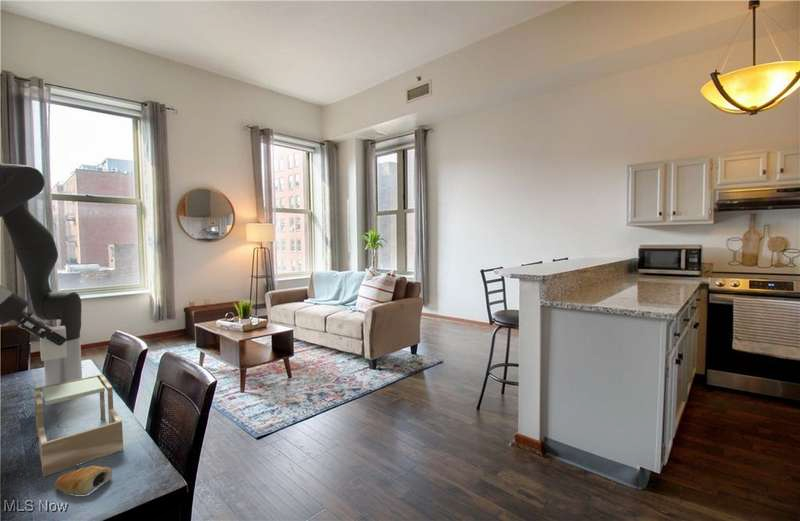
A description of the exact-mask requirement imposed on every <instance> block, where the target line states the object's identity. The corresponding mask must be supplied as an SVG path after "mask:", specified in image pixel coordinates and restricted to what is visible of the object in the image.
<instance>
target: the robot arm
mask: <svg viewBox="0 0 800 521" xmlns="http://www.w3.org/2000/svg"><path fill="white" fill-rule="evenodd" d="M44 187H45V177H44V175H43V174H42V172H41V171H40V170H38V169H37V168H36V167H33V166H31V165H26V164H25V165H24V164H14V163H12V164H11V163H0V218H2V220H3V223H4V225H5V228H6V229H7V232H8V235H9V237H10V241H11V243H12V247H13V249H14V251H15V252H14V253H15V254H16V257H17V260H18V261H19V264H20V267H21V269H22V272H23V275H24V278H25V281H26V285H27V288H28V293H29V297H30V302H31V306H32V309H33V312H32V311H31V312H29V311H28V312H26V311H24V310H25V309H26V308H27V307H28V306H29V304H30V303H29V301H28V300H26V299H25V298H23V297H22V296H20V295H18V294H16V293H15V292H13V291H12V290H10V289H8V288H6V287H5V286H3V285H1V284H0V326H4V325H6V324H8V323H9V322H11V321H14V322H16V326H17V327H18V328H19V329H23V330H25V331H27V332H29V333H30V334H32V335H36V336H37V337H39V339H40V338H45V339H48V340H50V341H51V342H53V343H55V344H57V345H59V346H60V345H62V344H63V343H64V342H65V341H66V345H67V357H64V358H58V359H52V360H46V361H43V363H44V365H43V367H44V383H45V386H49V385H53V384H58V383H63V382H68V381H73V380H77V379H82V378H83V371H82V370H83V369H82V367H83V366H82V350H81V349H82V347H81V329H82V299H81V296H80V295H79V293H77V292H76V291H55V292H54V291H52V288H51V286H50V281H49V278H50V275H51V273H52V271H53V269H54V267H55V265H56V263H57V262H58V257H59V253H58V252H59V251H58V248H57V245H56V242H55V239H54V237H53V235H52V233H51V231H49V230H48V229H47V228H46V227H45V225H43V223H42V222H40V221H39V220H38V219H37V218H36V217H35V216H34V215H33V214H32V213H31V211H29V209H28V208H27V206H26V204H25V203H26V202H28V201H30V200H31V199H33V198H35V197H36V196H38V195H39V194H41V193H42V191H43V189H44ZM54 320H55V321H58V320H60V325H59V326H65V328H66V338H64V337H63V336H61V335H59V334H57V333H56V332H54V331H53V330H52V329H50V328H48V327H52V326H51V325H50V324H49V322H48V323H47V321H54ZM42 329H45V331H44V332H43V333H40V331H41V330H42Z"/></svg>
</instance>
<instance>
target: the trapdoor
mask: <svg viewBox="0 0 800 521" xmlns="http://www.w3.org/2000/svg"><path fill="white" fill-rule="evenodd" d="M105 390H106V388H105V387H104V386H103V385H102V383H101V382H100V380H99V379H98V377H94V378H89V379H84V380H80V381H75V382H70V383H65V384H61V385H56V386H51V387H46V388H42V391H41V392H42V396H43V402H44V405H45V406H48V405H52V404H58V403H60V402H61V403H62V402H64V401H70V400H74V399H79V398H82V397H87V396H92V395H95V394H100V392H104V393H105Z"/></svg>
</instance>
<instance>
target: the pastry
mask: <svg viewBox="0 0 800 521" xmlns="http://www.w3.org/2000/svg"><path fill="white" fill-rule="evenodd" d="M112 475H113V472H112V470H111V469H110V467H107V466H98V465H91V466H87V467H82V468H78V469H73V470H72V471H69V472H67V473H65V474H62V475H61V476H60V477H58V478H57V479H56V480H55V482H54V487H55V488H56V489H58V490H59V491H60V492H62V493H63V494H64V495H65V494H73V495H86V494H88V493H90V492H91V491H93V490H94V489H95V488H97V487H98V486H100V485H101V484H103V483H105V484H106V483H107V482H108V481H110V480H111V478H112ZM103 485H104V484H103Z"/></svg>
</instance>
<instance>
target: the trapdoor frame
mask: <svg viewBox="0 0 800 521" xmlns="http://www.w3.org/2000/svg"><path fill="white" fill-rule="evenodd" d="M94 377H98V379H99V380H100V382H101V383H102V385H103V386H104V388H105V390H106V392H107V406H108V407H107V408H108V410H107V411H108V423H107V424H103V425H100V426H97V427H93V428H90V429H86V430H85V429H84V430H82V431H79V432H75V433H72V434H69V435H65V436H62V437H61V436H60V437H58V438H55V439H51V440H47V435H46V430H45V422H44V421H45V420H44V419H45V418H44V404H43V403H44V401H43V398H42V394H41V392H42V388H46V387H51V386H56V385H61V384H65V383H70V382H75V381H80V380H84V379H89V378H94ZM33 391H34V407H35V408H34V410H35V425H36V427H35V429H36V437H37V438H38V442H39V446H38V447H39V458H40V464H41V465H40V466H41V470H42V471H41V472H42V477H43V478H45V477H48V476H51V475H54V474H56V472H57V473H59V472H61V471H60V470H62V471H64V470H63V469H65V470H67V469H66V468H68V469H70V468H69V467H71V468H73V467H72V466H74V467H76V466H75V465H77V464H80V463H83V462H86V461H89V460H92V461H94V460H93V459H95V460H97V459H96V458H98V459H101V458H104V457H107V456H109V454H110V455H112V454H111V453H113V454H115V453H114V452H116V453H118V452H117V451H119V452H121V451H120V450H122V451H124V435H123V431H124V430H123V420H122V419H121V417H120V416H119V414H118V413H117V412H116V410H115V408H114V395H113V394H114V393H113V392H114V391H113V386H112V384H111V383H110V382H109V380H108V379H107V378H106V377H105V375H104V374H97V375H93V376H87V377H84V378H83V377H82V379H77V380H73V381H68V382H63V383H58V384H53V385H49V386H40V387H36V388H33ZM105 403H106V401H105V391H104V392H100V393H99V406H100V407H99V408H100V420H104V419H106V408H105V407H106V406H105V405H106V404H105ZM103 456H104V457H103ZM100 457H101V458H100ZM89 462H90V461H89ZM86 463H87V462H86ZM83 464H84V463H83ZM80 465H81V464H80ZM77 466H78V465H77ZM58 471H59V472H58ZM53 473H54V474H53ZM50 474H51V475H50Z"/></svg>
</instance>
